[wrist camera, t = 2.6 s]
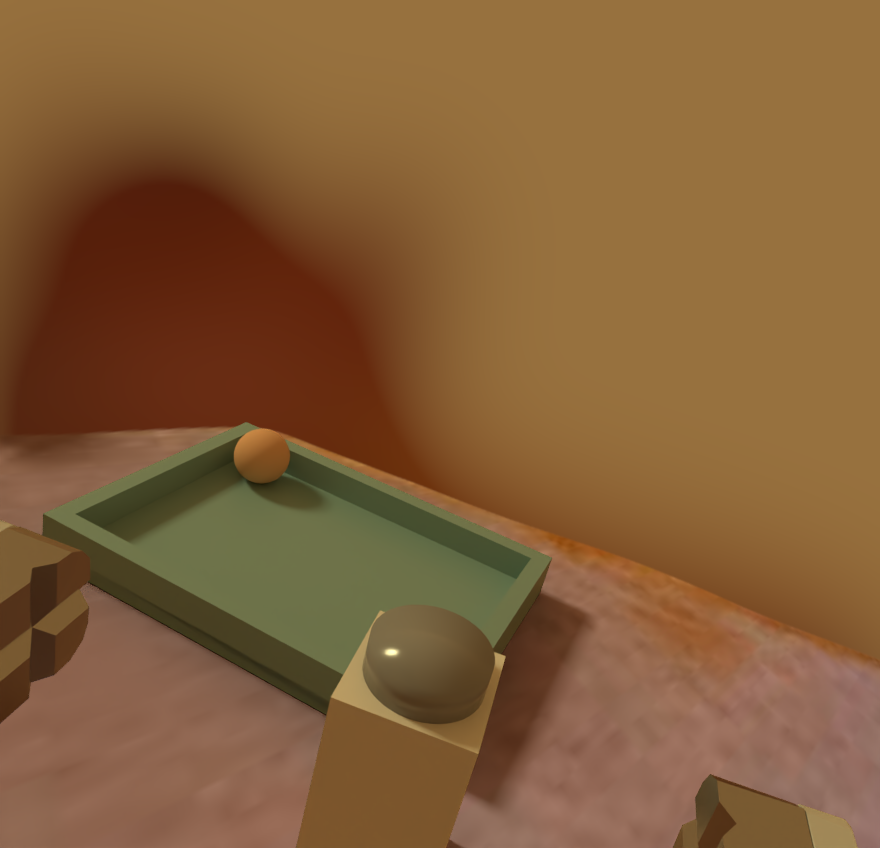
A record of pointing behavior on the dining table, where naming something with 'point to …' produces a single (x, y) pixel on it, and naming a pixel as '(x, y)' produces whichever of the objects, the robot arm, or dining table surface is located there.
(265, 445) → the ball
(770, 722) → the dining table surface
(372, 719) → the shaker
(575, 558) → the dining table surface
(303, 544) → the tray
